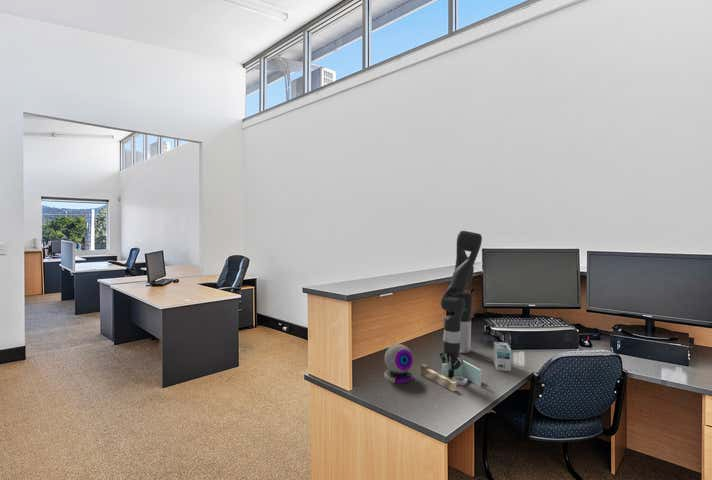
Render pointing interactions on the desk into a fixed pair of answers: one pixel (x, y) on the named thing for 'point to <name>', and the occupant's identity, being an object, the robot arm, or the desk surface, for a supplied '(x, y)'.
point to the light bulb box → (502, 356)
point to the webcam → (398, 364)
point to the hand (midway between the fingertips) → (450, 376)
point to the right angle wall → (464, 373)
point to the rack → (439, 378)
